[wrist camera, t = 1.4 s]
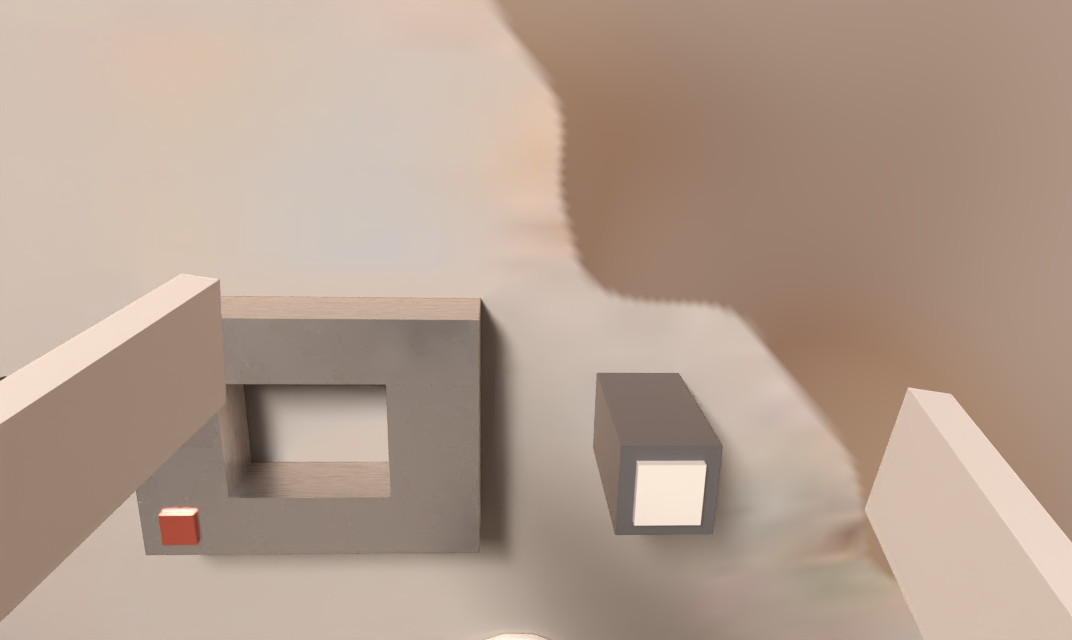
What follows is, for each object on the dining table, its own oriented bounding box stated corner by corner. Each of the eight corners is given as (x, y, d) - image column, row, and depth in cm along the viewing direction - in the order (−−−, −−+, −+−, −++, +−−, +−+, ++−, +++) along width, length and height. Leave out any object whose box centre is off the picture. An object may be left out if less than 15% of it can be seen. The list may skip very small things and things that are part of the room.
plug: (672, 447, 40) (715, 539, 32) (593, 447, 40) (616, 540, 32) (678, 373, 38) (725, 449, 30) (596, 372, 38) (622, 450, 30)
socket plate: (480, 513, 40) (478, 556, 37) (175, 515, 40) (143, 558, 36) (480, 298, 37) (478, 322, 33) (145, 295, 36) (105, 319, 32)
